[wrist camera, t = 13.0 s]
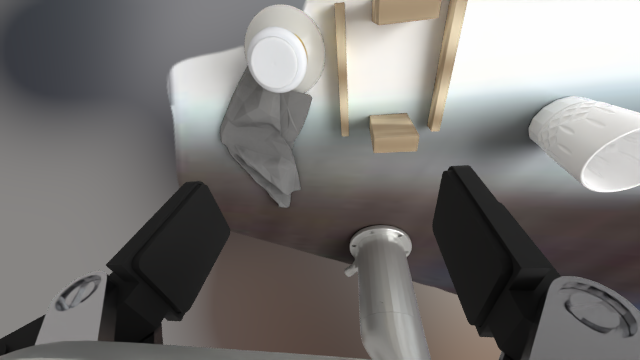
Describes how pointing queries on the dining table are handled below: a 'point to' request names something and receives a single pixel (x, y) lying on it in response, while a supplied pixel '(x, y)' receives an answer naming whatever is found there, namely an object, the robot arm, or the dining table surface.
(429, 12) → the wooden slatted rack
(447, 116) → the dining table surface
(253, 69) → the supplement bottle
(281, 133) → the cloth
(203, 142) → the dining table surface
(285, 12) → the coaster
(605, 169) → the white cup
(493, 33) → the dining table surface
